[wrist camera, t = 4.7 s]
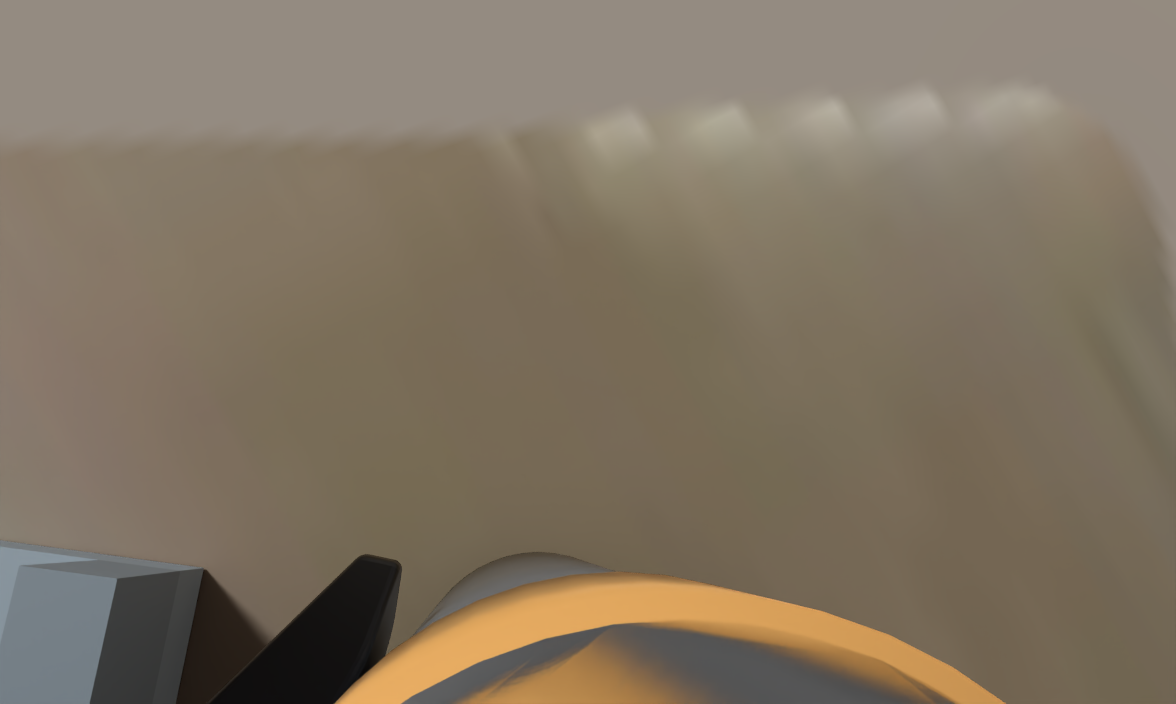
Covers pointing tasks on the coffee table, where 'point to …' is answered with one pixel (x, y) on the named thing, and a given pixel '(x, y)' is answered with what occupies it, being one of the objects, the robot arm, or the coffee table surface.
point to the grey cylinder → (643, 646)
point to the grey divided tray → (92, 626)
